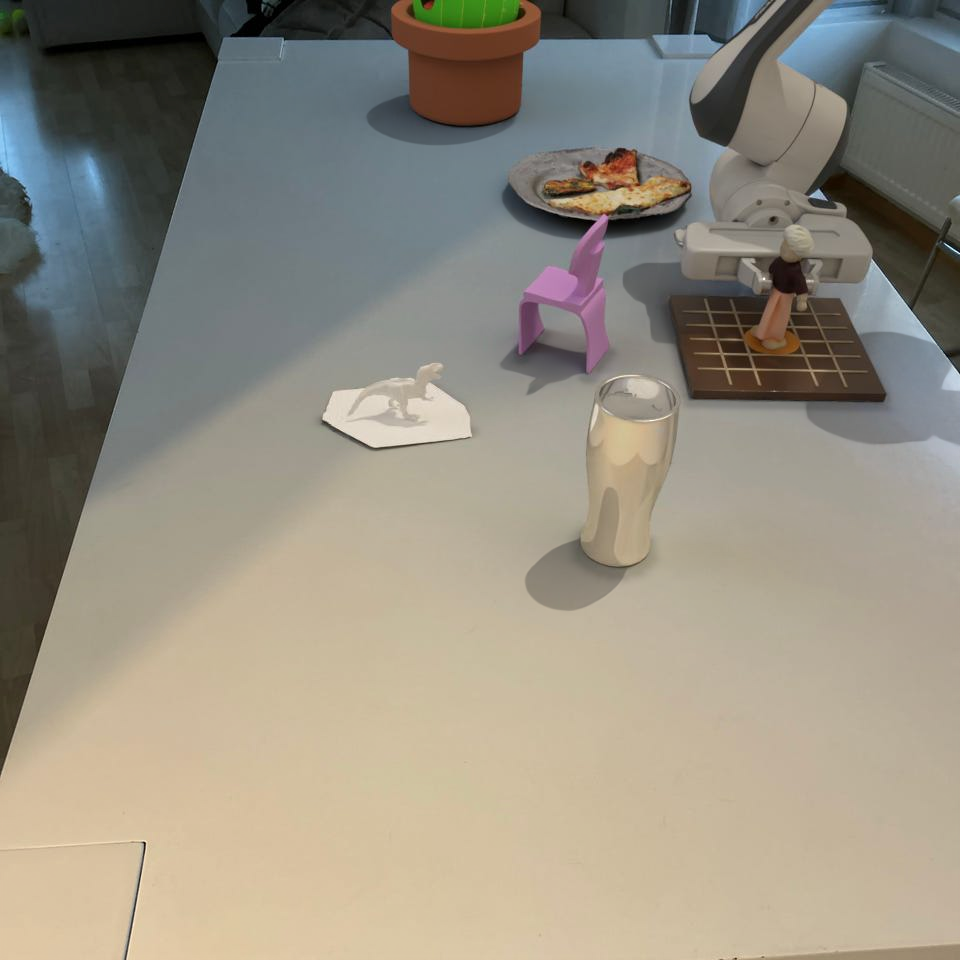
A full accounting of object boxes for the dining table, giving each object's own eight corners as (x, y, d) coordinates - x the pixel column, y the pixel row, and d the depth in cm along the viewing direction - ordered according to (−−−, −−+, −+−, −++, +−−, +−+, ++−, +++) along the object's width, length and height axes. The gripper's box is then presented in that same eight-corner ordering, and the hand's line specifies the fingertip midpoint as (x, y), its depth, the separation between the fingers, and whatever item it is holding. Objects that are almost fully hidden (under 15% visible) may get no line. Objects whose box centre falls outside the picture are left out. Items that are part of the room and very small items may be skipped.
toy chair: (541, 323, 111) (550, 189, 100) (613, 341, 109) (630, 206, 98) (510, 357, 106) (516, 220, 95) (585, 378, 104) (600, 240, 93)
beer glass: (601, 508, 89) (621, 362, 78) (668, 538, 86) (699, 391, 75) (560, 549, 85) (574, 401, 74) (629, 582, 83) (655, 434, 72)
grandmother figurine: (734, 329, 109) (759, 215, 100) (761, 321, 110) (788, 208, 101) (779, 362, 105) (811, 246, 95) (807, 353, 106) (840, 238, 97)
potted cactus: (470, 74, 168) (472, -106, 150) (562, 110, 157) (576, -80, 139) (369, 103, 158) (357, -87, 139) (459, 144, 147) (460, -56, 128)
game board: (837, 305, 115) (840, 296, 115) (883, 401, 102) (887, 392, 101) (668, 302, 115) (669, 293, 114) (691, 398, 102) (693, 388, 101)
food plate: (645, 155, 145) (649, 129, 143) (719, 221, 130) (725, 194, 128) (486, 173, 140) (486, 147, 137) (544, 245, 125) (546, 218, 122)
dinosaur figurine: (319, 464, 97) (303, 413, 92) (341, 384, 104) (327, 333, 99) (469, 463, 95) (461, 411, 90) (481, 381, 102) (474, 328, 97)
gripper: (676, 199, 109) (693, 257, 100) (858, 203, 110) (893, 261, 100) (667, 254, 114) (683, 314, 105) (842, 258, 114) (873, 318, 105)
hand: (787, 288), depth 102 cm, fingers open, 3 cm apart
